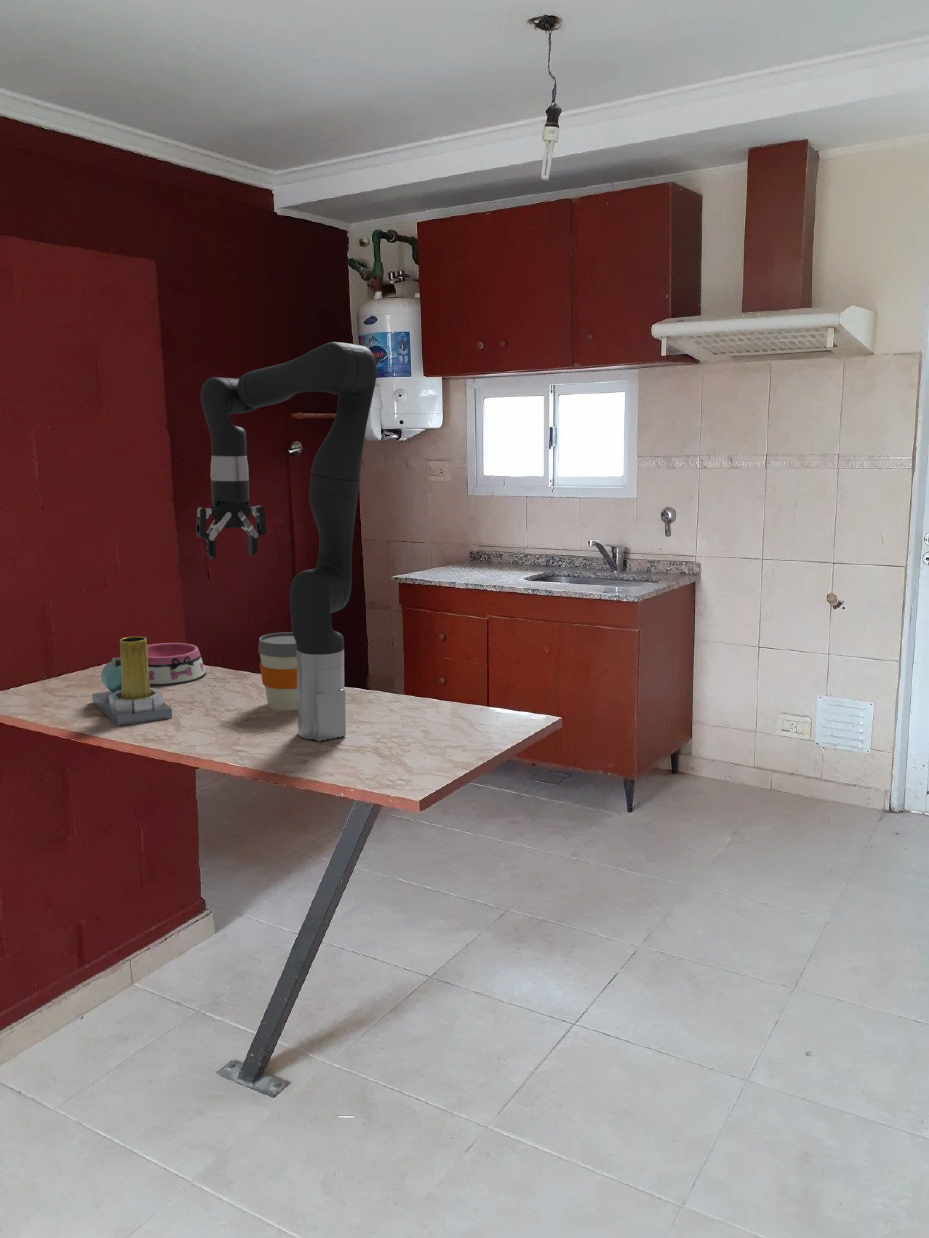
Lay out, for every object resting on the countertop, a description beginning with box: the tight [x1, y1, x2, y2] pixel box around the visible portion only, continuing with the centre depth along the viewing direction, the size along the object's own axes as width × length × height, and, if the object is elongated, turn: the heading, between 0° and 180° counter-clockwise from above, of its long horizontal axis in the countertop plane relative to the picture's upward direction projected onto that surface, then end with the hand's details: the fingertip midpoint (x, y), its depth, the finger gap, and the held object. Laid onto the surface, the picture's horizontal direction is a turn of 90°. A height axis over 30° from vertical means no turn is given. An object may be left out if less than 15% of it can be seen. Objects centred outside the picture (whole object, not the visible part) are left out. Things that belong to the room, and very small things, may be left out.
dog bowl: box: [147, 642, 207, 687], centre depth 233 cm, size 18×19×7 cm
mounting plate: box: [91, 656, 173, 727], centre depth 204 cm, size 20×11×10 cm, turn 35°
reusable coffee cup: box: [257, 631, 298, 712], centre depth 209 cm, size 13×13×15 cm
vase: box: [119, 636, 151, 699], centre depth 200 cm, size 6×6×14 cm
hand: (232, 557), depth 200 cm, fingers open, 8 cm apart
